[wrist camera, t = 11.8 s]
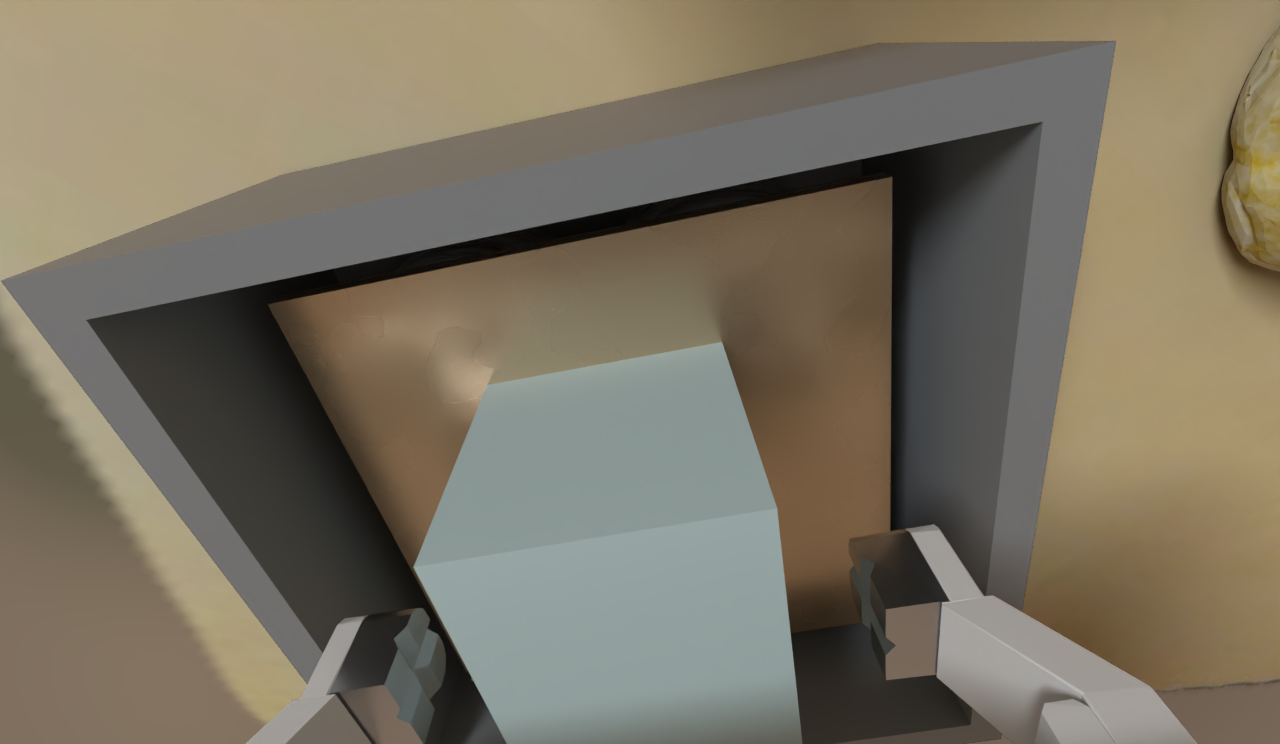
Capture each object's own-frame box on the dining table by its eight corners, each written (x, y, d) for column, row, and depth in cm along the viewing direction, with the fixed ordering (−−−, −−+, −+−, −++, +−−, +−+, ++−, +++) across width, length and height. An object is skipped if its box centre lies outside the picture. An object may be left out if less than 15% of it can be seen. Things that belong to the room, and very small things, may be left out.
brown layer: (820, 141, 15) (892, 176, 11) (838, 507, 20) (889, 618, 16) (358, 238, 16) (267, 304, 12) (499, 562, 21) (471, 681, 17)
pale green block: (722, 342, 12) (777, 507, 8) (755, 578, 16) (807, 788, 11) (487, 384, 13) (413, 567, 8) (569, 607, 16) (548, 822, 11)
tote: (878, 43, 15) (1116, 41, 8) (880, 517, 22) (1000, 739, 15) (279, 175, 16) (0, 281, 9) (474, 583, 23) (408, 818, 16)
